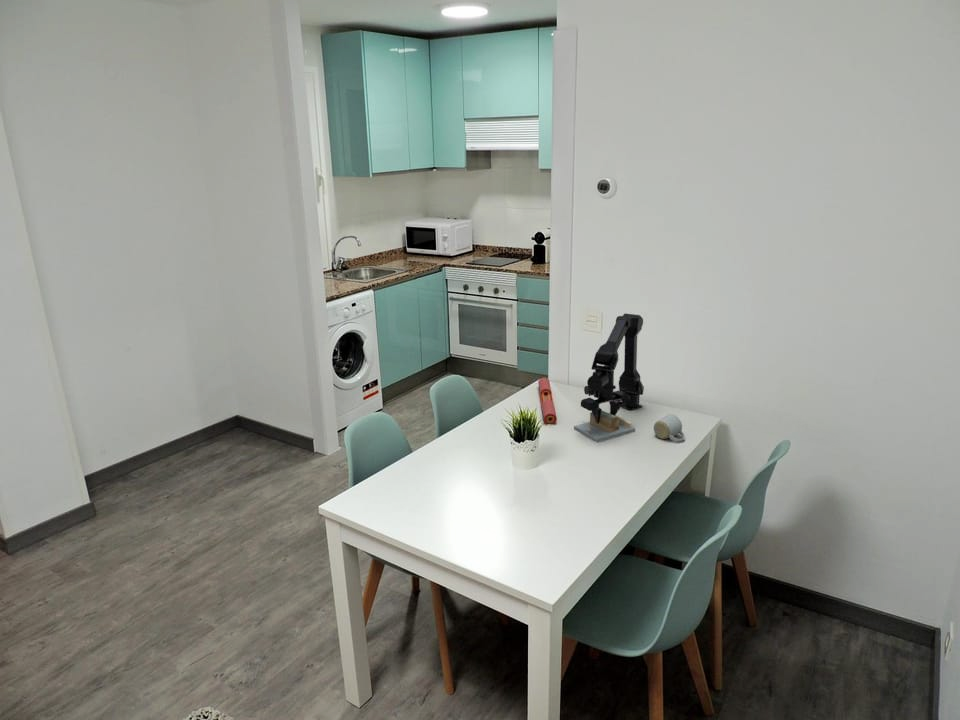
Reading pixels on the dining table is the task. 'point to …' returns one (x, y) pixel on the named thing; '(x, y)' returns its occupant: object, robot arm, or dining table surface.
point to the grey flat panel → (602, 435)
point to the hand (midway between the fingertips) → (604, 421)
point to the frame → (605, 422)
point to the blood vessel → (547, 401)
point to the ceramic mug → (669, 428)
